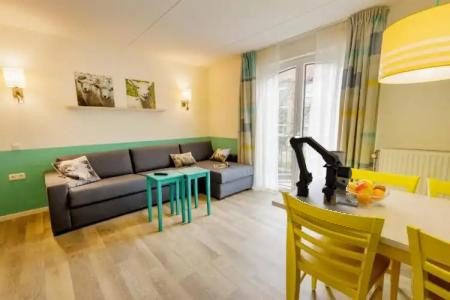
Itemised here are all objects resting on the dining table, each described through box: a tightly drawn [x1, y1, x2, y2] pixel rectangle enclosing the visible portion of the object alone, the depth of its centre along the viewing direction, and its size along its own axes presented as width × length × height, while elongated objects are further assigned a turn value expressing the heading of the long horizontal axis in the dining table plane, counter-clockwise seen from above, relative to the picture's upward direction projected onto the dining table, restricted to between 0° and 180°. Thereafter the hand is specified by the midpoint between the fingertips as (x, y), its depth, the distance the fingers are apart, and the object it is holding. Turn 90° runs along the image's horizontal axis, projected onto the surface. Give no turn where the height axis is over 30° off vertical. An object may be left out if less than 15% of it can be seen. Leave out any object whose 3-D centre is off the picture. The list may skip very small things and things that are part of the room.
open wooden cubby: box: [322, 192, 337, 206], centre depth 128 cm, size 6×6×6 cm
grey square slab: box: [336, 192, 359, 208], centre depth 128 cm, size 10×10×5 cm
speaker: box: [329, 150, 346, 166], centre depth 158 cm, size 11×10×26 cm
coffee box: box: [335, 176, 350, 195], centre depth 145 cm, size 9×6×16 cm
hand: (329, 200), depth 128 cm, fingers closed on open wooden cubby, 6 cm apart
